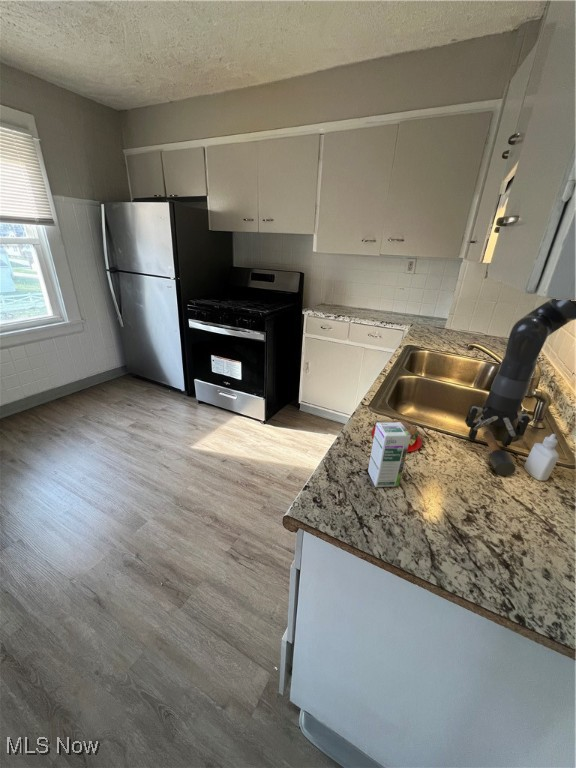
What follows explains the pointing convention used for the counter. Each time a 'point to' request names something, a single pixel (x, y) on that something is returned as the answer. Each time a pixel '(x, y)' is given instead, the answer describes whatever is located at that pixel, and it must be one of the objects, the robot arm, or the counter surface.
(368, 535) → the counter surface
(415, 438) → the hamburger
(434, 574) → the counter surface
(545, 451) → the eye dropper bottle
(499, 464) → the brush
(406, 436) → the syrup box
